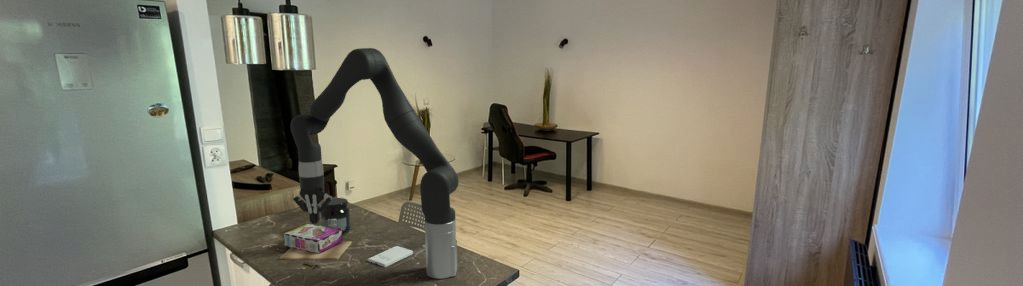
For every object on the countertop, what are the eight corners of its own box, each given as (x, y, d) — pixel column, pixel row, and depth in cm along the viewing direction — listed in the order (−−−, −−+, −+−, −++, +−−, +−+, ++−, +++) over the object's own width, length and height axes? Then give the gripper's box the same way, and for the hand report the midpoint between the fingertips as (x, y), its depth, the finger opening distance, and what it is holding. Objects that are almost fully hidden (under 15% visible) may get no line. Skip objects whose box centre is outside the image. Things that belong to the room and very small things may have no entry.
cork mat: (351, 242, 169) (351, 241, 169) (337, 259, 155) (337, 257, 155) (298, 242, 169) (298, 241, 169) (279, 259, 155) (279, 257, 155)
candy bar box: (318, 240, 157) (282, 233, 163) (319, 254, 158) (283, 247, 164) (342, 228, 167) (307, 222, 173) (343, 242, 168) (308, 235, 174)
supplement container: (343, 224, 187) (341, 195, 185) (355, 231, 180) (354, 201, 178) (316, 231, 180) (314, 201, 178) (328, 239, 173) (326, 207, 170)
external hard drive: (413, 255, 160) (385, 268, 150) (396, 249, 165) (367, 262, 155) (413, 250, 160) (384, 264, 150) (395, 245, 164) (367, 257, 154)
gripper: (286, 176, 154) (290, 227, 157) (326, 176, 154) (330, 227, 157) (296, 170, 161) (300, 219, 164) (335, 171, 161) (338, 219, 164)
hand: (315, 223), depth 160 cm, fingers closed
